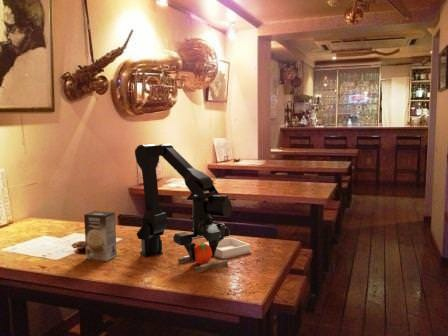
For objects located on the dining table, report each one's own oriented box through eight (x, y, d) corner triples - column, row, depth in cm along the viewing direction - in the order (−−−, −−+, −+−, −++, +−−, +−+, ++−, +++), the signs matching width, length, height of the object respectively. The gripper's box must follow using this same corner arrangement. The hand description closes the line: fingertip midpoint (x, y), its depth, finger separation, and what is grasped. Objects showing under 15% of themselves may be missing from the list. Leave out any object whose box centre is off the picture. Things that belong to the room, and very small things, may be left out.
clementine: (215, 266, 131) (215, 245, 131) (194, 269, 129) (194, 247, 129) (209, 259, 139) (209, 239, 138) (189, 261, 137) (189, 241, 136)
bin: (222, 259, 139) (222, 250, 138) (203, 250, 149) (203, 242, 148) (250, 252, 145) (250, 244, 145) (230, 244, 155) (230, 237, 155)
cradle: (196, 273, 126) (196, 267, 126) (178, 262, 136) (177, 257, 136) (227, 265, 133) (227, 259, 132) (208, 255, 143) (208, 250, 142)
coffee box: (85, 259, 142) (82, 214, 140) (96, 253, 148) (94, 210, 146) (107, 261, 139) (105, 215, 137) (117, 255, 145) (115, 211, 143)
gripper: (188, 222, 121) (190, 273, 122) (238, 214, 131) (239, 260, 133) (171, 216, 130) (173, 263, 131) (219, 208, 140) (220, 252, 142)
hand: (202, 260), depth 134 cm, fingers closed on clementine, 7 cm apart
